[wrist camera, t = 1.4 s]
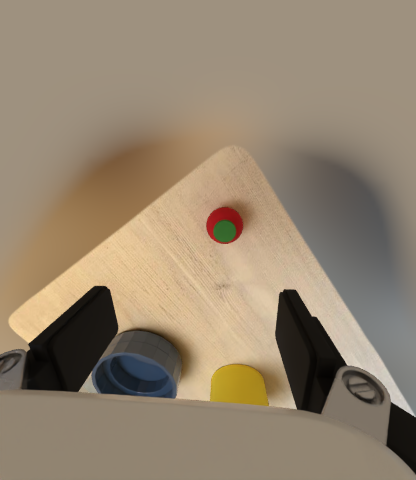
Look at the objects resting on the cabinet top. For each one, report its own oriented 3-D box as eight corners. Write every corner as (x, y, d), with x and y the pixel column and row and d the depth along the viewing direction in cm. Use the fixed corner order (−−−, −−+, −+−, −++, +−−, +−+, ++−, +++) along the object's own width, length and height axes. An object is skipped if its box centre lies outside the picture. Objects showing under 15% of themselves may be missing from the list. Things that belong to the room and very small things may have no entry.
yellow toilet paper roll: (251, 358, 35) (261, 422, 26) (272, 394, 38) (287, 463, 29) (202, 372, 37) (195, 436, 28) (225, 405, 40) (225, 473, 31)
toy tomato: (202, 229, 28) (198, 241, 23) (215, 199, 26) (213, 205, 21) (232, 241, 28) (234, 256, 23) (247, 212, 26) (252, 221, 22)
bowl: (101, 369, 39) (85, 397, 34) (117, 317, 34) (100, 340, 29) (169, 393, 40) (161, 423, 35) (193, 345, 35) (189, 372, 30)
